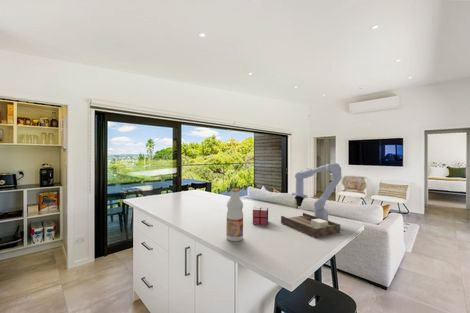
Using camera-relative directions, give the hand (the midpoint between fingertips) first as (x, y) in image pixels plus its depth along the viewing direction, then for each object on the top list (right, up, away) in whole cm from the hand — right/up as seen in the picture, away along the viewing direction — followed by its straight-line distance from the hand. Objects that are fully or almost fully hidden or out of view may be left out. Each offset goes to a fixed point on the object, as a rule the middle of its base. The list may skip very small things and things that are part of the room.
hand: (299, 206), depth 168 cm
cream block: (+4, -7, -29) cm, 30 cm away
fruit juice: (-49, -9, -41) cm, 65 cm away
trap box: (0, -10, -21) cm, 23 cm away
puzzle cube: (-30, -9, -11) cm, 34 cm away
